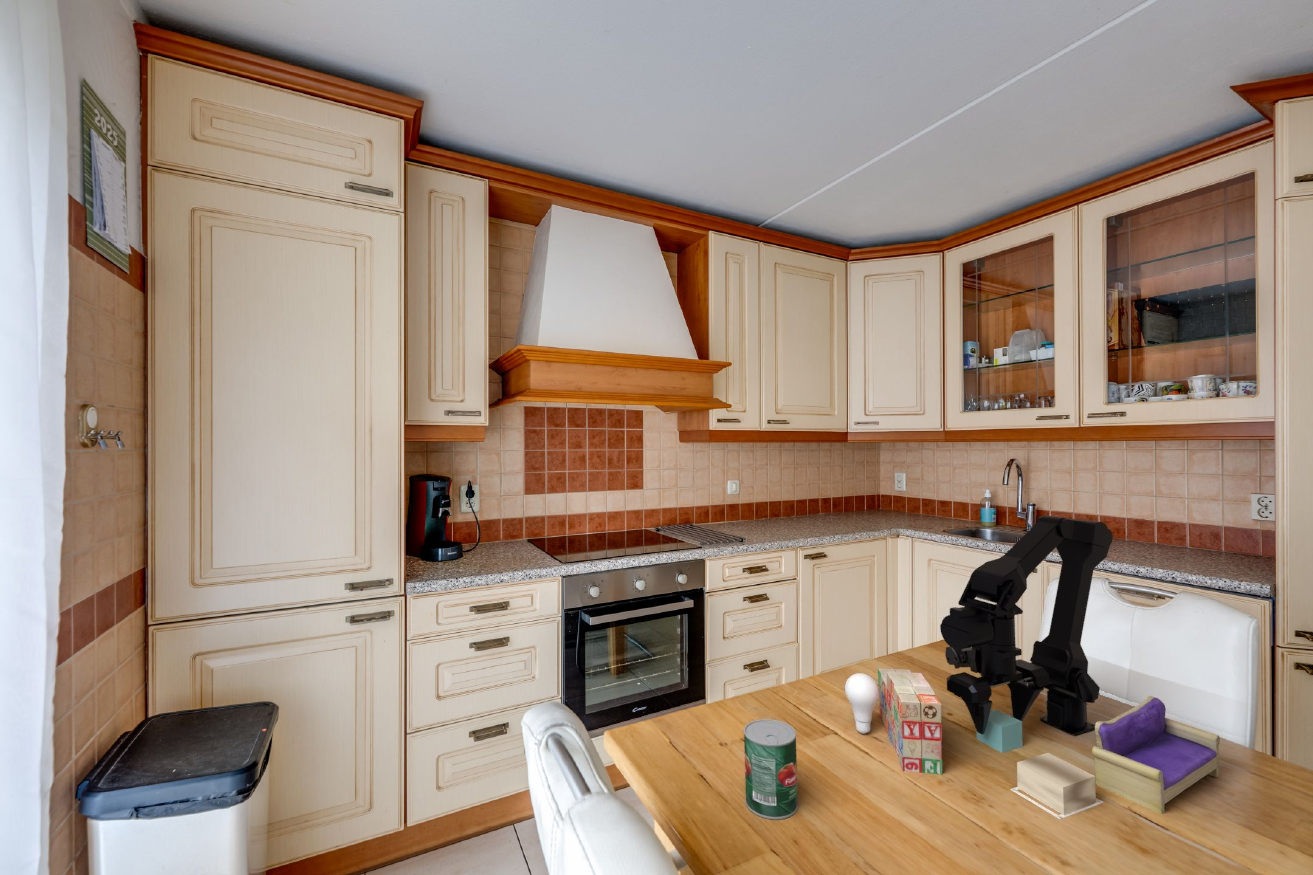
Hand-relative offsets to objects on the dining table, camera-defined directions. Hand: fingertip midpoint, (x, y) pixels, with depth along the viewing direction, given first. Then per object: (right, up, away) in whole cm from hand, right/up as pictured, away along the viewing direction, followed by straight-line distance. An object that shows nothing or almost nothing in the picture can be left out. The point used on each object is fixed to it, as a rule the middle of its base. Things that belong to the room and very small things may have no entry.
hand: (999, 727), depth 102 cm
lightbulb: (-22, -4, +5) cm, 23 cm away
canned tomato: (-44, -4, -15) cm, 46 cm away
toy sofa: (+18, -3, -12) cm, 22 cm away
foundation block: (-1, -3, -15) cm, 15 cm away
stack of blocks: (-16, -4, +2) cm, 16 cm away
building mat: (-1, -3, -14) cm, 15 cm away
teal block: (0, -3, 0) cm, 3 cm away
